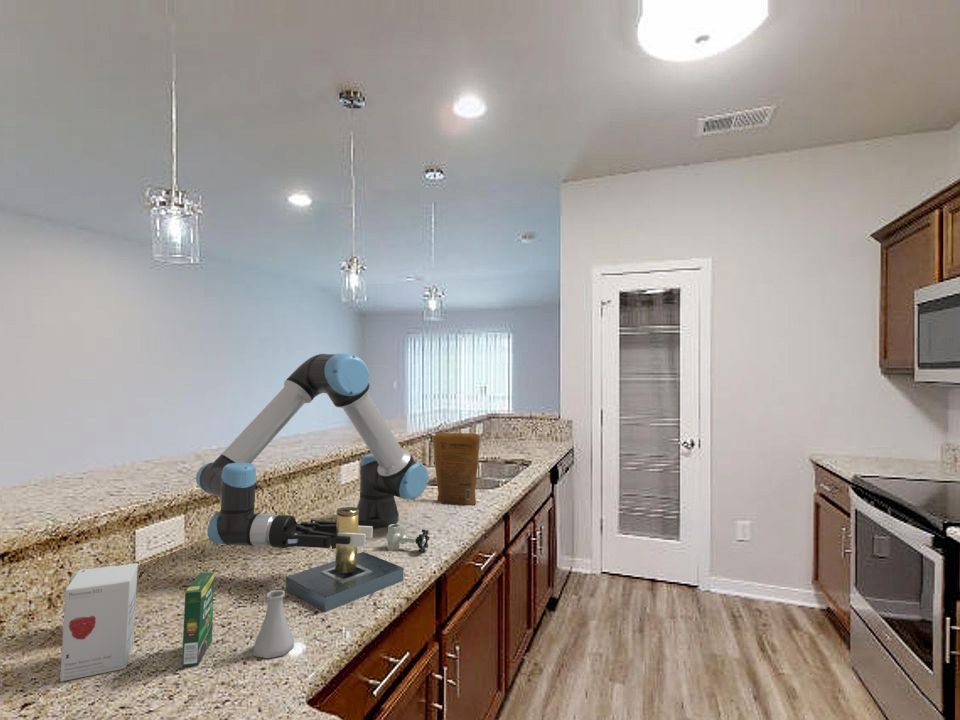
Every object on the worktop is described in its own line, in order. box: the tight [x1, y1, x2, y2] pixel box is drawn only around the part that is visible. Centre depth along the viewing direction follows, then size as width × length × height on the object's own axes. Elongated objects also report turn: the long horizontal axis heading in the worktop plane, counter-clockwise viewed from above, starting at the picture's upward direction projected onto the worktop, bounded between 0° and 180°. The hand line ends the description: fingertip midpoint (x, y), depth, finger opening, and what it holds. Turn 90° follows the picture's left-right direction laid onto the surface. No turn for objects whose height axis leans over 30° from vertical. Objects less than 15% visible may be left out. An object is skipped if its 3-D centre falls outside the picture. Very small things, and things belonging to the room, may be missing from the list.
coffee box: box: [181, 572, 215, 668], centre depth 88 cm, size 8×3×13 cm, turn 13°
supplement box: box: [59, 562, 139, 683], centre depth 85 cm, size 9×9×15 cm
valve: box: [386, 523, 430, 554], centre depth 142 cm, size 7×7×12 cm
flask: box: [252, 589, 295, 659], centre depth 91 cm, size 7×7×10 cm
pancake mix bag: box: [432, 432, 482, 506], centre depth 195 cm, size 7×19×28 cm, turn 74°
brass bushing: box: [334, 506, 359, 573], centre depth 118 cm, size 5×5×14 cm
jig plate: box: [285, 551, 404, 613], centre depth 118 cm, size 22×16×3 cm
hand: (368, 536), depth 118 cm, fingers closed on brass bushing, 5 cm apart
